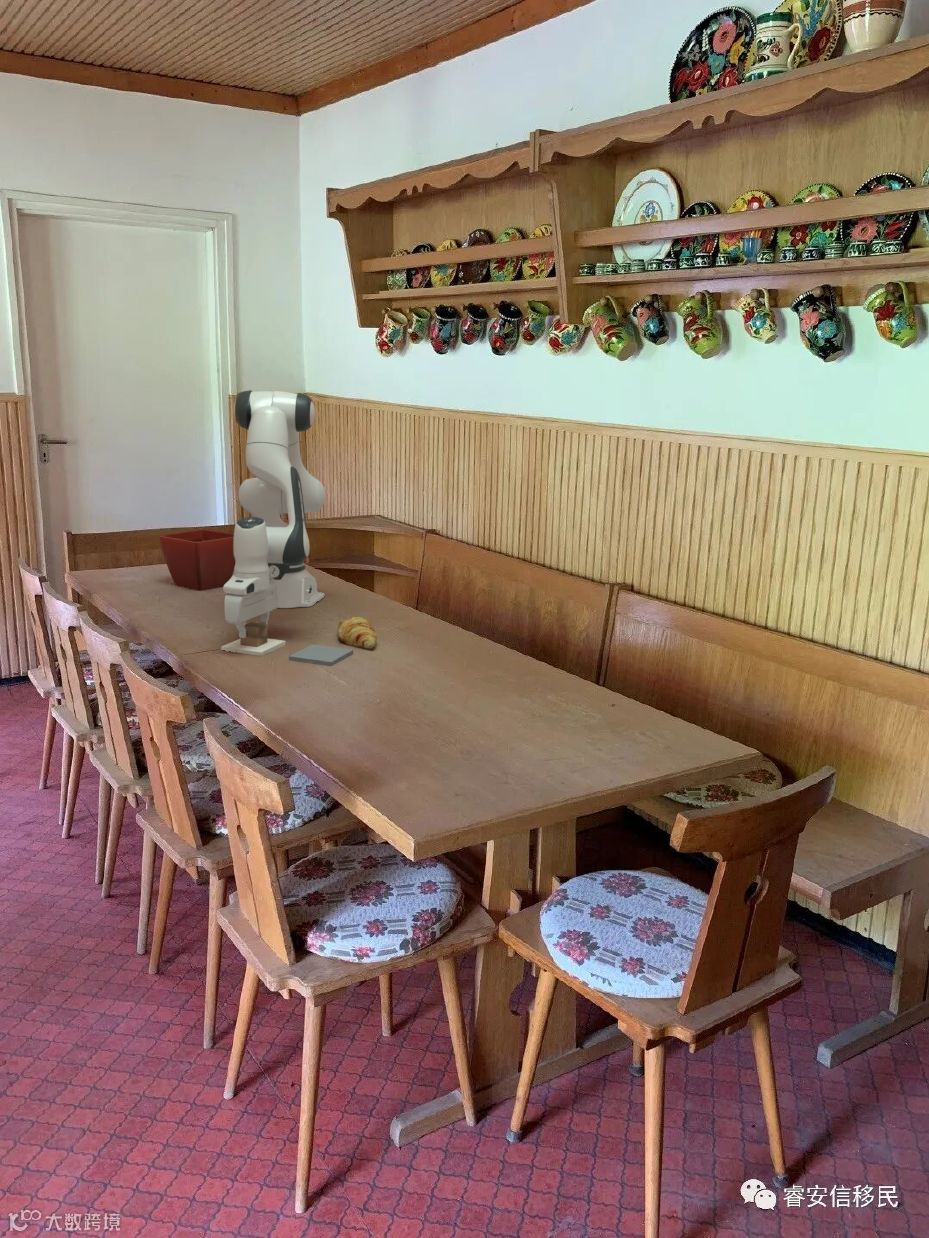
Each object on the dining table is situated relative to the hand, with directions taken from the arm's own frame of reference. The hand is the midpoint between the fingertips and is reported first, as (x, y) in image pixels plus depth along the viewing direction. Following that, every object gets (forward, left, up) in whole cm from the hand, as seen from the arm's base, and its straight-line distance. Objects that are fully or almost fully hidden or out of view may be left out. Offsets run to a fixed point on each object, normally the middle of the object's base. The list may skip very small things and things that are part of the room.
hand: (253, 632), depth 263 cm
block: (0, 0, -3) cm, 3 cm away
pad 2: (0, +20, -4) cm, 20 cm away
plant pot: (-56, -55, -4) cm, 78 cm away
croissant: (-17, +21, -4) cm, 27 cm away
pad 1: (0, 0, -4) cm, 4 cm away
